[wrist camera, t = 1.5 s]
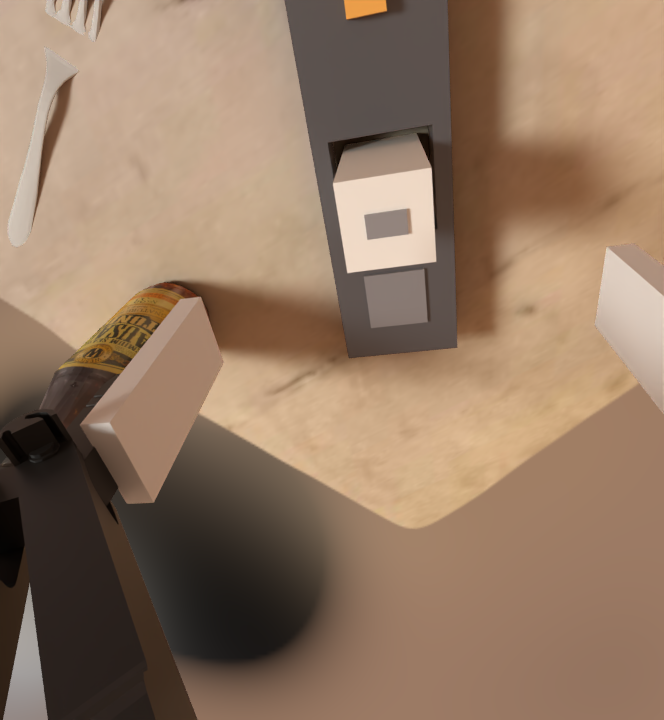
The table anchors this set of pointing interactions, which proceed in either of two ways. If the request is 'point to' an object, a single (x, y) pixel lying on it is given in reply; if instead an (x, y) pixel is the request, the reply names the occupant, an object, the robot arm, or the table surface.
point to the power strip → (374, 116)
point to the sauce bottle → (109, 351)
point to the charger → (385, 204)
